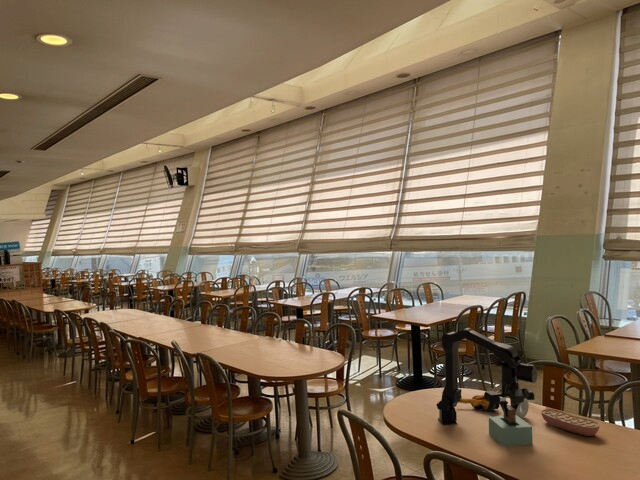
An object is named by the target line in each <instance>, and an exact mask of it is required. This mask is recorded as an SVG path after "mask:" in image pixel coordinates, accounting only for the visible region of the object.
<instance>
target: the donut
mask: <svg viewBox="0 0 640 480" xmlns="http://www.w3.org/2000/svg"><path fill="white" fill-rule="evenodd" d="M529 405H530V404H529V400H527V399H524V402H522V403H520V404H519V406H518V408H517V410H516V415H517V416H518V417H520V418H521V419H522V420H523V419H524V418H525V417H526V416H527V414H528V412H529V408H530V407H529Z"/></svg>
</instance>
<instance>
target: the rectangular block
mask: <svg viewBox="0 0 640 480" xmlns="http://www.w3.org/2000/svg"><path fill="white" fill-rule="evenodd" d="M502 412H503V411H502ZM507 413H508V414H507V417H505V415H504V412H503V416H504V418H505V419H506V420H507V421H509V422H516V409H514V408H513V407H511V404H507Z"/></svg>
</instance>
